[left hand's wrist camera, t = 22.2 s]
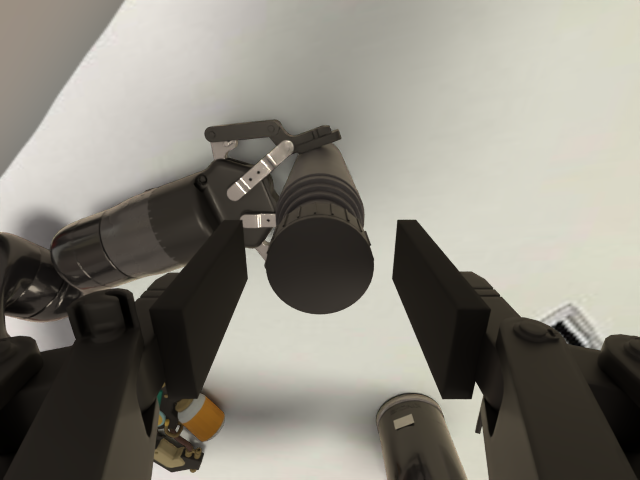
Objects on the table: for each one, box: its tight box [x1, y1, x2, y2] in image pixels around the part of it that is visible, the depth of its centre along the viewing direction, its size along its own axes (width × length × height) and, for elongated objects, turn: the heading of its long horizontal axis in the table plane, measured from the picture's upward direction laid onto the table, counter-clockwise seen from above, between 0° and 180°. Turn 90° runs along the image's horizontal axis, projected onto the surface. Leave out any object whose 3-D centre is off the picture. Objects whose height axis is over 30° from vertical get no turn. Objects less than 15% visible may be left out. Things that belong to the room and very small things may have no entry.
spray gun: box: [153, 383, 225, 473], centre depth 47 cm, size 4×17×15 cm
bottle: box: [275, 143, 364, 227], centre depth 24 cm, size 5×5×24 cm
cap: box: [266, 202, 374, 314], centre depth 14 cm, size 4×4×2 cm
